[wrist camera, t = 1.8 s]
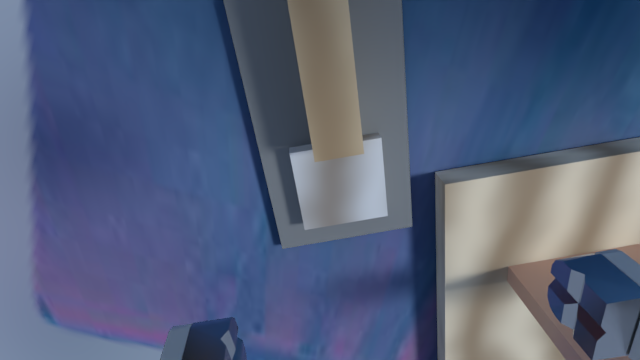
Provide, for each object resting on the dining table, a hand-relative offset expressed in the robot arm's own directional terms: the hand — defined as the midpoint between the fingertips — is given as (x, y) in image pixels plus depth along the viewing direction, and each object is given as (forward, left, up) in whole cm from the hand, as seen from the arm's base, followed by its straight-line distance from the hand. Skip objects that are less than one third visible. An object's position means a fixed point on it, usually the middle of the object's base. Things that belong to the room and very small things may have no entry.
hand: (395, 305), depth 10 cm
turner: (0, -2, -17) cm, 17 cm away
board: (-18, +18, -18) cm, 31 cm away
